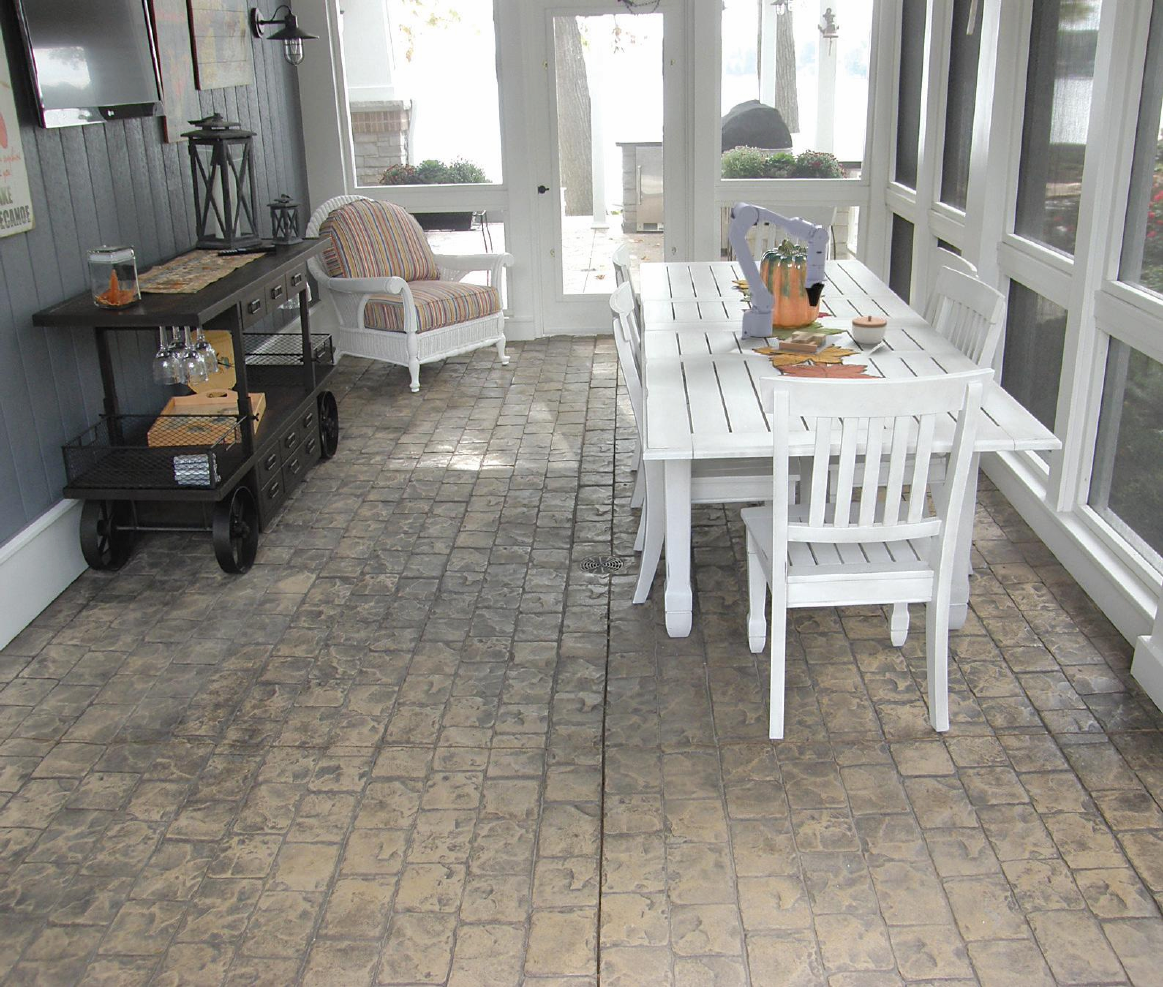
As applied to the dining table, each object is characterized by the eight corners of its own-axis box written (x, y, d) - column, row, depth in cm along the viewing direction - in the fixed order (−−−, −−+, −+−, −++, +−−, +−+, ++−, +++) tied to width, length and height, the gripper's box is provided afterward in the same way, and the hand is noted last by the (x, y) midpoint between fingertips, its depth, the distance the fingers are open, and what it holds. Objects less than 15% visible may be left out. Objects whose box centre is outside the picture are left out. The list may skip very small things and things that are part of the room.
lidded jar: (871, 350, 348) (873, 320, 345) (843, 344, 356) (845, 315, 353) (891, 344, 354) (894, 315, 351) (864, 339, 362) (866, 310, 359)
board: (769, 353, 347) (770, 343, 346) (797, 335, 368) (798, 326, 367) (816, 358, 340) (816, 348, 339) (842, 340, 361) (842, 330, 360)
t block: (783, 347, 348) (784, 338, 347) (795, 340, 357) (796, 331, 356) (814, 351, 344) (815, 341, 343) (825, 343, 353) (826, 334, 351)
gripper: (820, 269, 352) (818, 311, 356) (834, 261, 363) (832, 303, 368) (799, 267, 355) (796, 309, 360) (813, 260, 367) (811, 301, 371)
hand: (813, 306), depth 364 cm, fingers closed
